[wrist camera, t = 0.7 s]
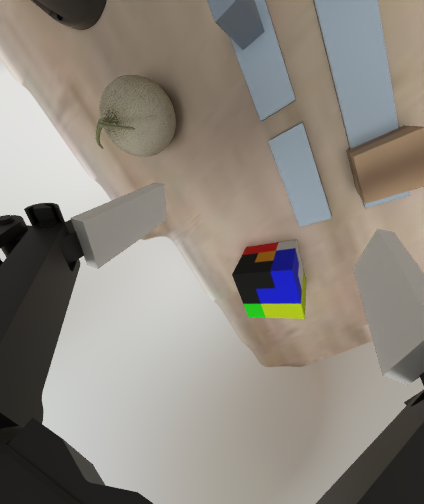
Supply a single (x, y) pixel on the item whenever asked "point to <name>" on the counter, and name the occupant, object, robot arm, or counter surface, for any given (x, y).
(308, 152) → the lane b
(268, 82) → the lane
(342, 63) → the strip
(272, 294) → the puzzle toy
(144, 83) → the fruit
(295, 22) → the counter surface
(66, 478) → the robot arm
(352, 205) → the counter surface
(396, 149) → the cube
